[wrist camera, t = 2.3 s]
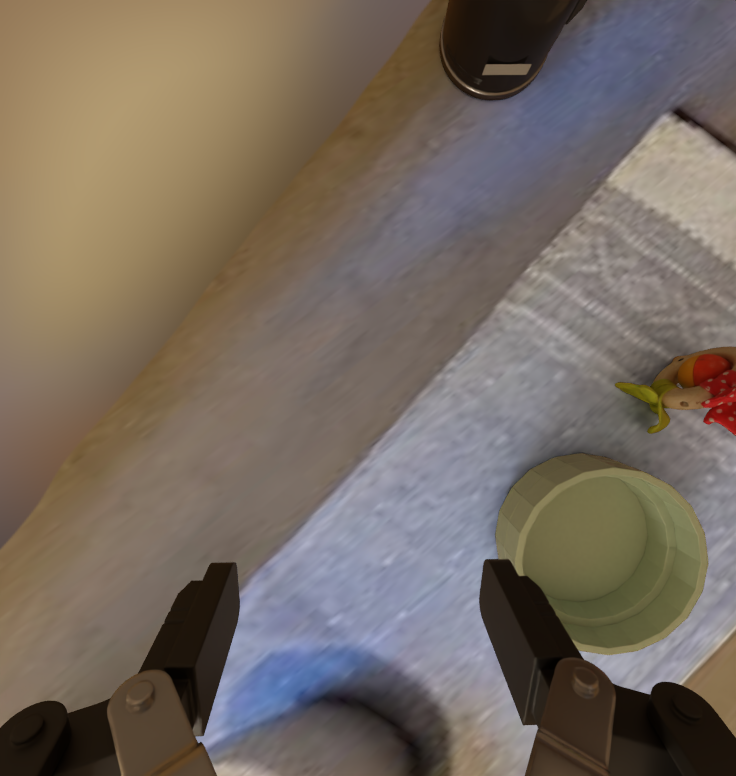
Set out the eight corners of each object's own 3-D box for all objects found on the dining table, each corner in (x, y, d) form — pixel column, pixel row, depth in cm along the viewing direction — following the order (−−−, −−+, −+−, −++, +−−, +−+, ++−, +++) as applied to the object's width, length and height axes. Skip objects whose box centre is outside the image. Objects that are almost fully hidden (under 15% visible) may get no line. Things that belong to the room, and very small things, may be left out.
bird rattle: (638, 340, 40) (592, 401, 37) (777, 291, 30) (731, 370, 27) (679, 388, 40) (638, 453, 37) (831, 356, 30) (792, 441, 27)
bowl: (578, 418, 39) (615, 428, 33) (689, 532, 39) (747, 563, 33) (460, 531, 39) (476, 562, 33) (571, 642, 40) (607, 691, 34)
